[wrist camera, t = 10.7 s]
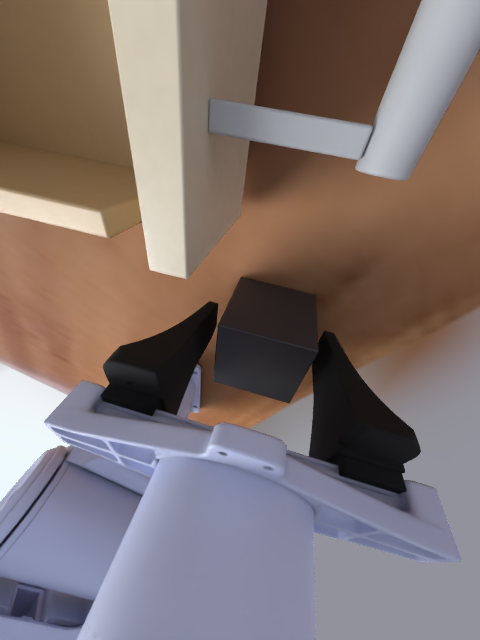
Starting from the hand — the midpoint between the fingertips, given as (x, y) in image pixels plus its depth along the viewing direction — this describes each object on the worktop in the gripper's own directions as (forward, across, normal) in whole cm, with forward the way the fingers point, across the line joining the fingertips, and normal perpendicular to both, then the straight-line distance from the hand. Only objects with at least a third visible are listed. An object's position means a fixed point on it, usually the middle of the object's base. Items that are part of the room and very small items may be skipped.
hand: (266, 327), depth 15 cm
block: (+2, 0, 0) cm, 2 cm away
